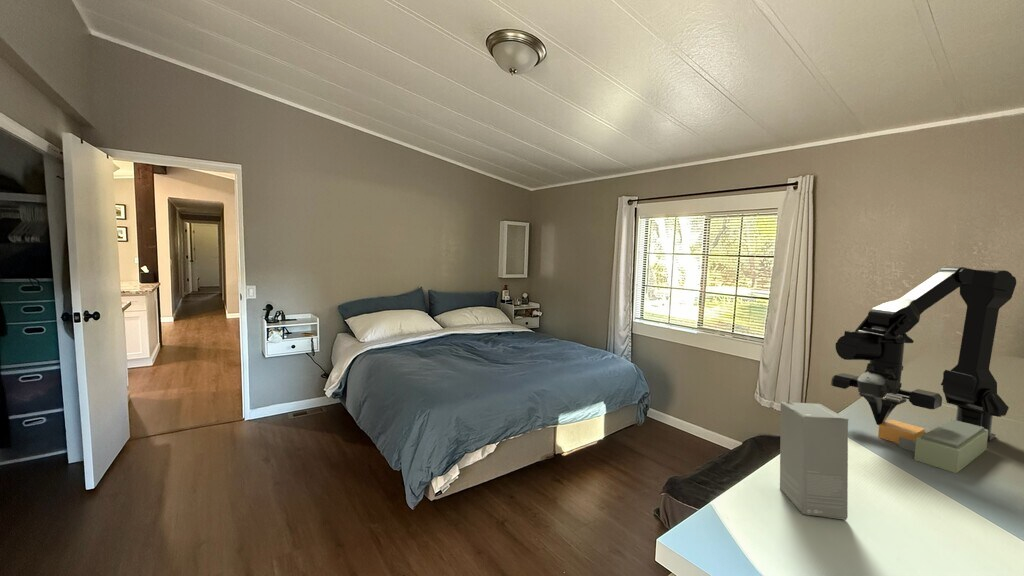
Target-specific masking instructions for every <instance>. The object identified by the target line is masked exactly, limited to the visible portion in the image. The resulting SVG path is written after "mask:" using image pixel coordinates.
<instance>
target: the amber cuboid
mask: <svg viewBox="0 0 1024 576" xmlns="http://www.w3.org/2000/svg"><path fill="white" fill-rule="evenodd" d="M925 431H926V428H925V427H920V426H916V425H913V424H909V423H906V422H901V421H899V420H894V419H889V420H887V421H886V420H885V422H884V423H882V424H879V425H878V435H877V437H878V438H880V439H883V440H886V441H890V442H893V443H896V444H899V438H900V437H903V438H907V439H910V440H914V441H916V438H918V437H920V436H922V435H924V434H925Z"/></svg>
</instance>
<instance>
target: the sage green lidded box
mask: <svg viewBox="0 0 1024 576" xmlns="http://www.w3.org/2000/svg"><path fill="white" fill-rule="evenodd" d="M987 439H988V430H987V429H984V427H981V426H977V425H973V424H969V423H965V422H961V421H957V420H956V419H949V420H947V421H945V422H944V423H942V424H941V425H939V426H937V427H935V428H933V429H931V430H929V431H926V430H925V434H924V435H922V436H920V437H918V438H916V441H914V440H910V439H907V438H903V437H900V438H899V443H898V446H897V447H898V448H902V449H904V450H905V449H906V450H909V451H911V452H914V458H913V459H914V461H915V462H916V461H917V462H919V461H920V462H919V463H922V464H925V465H929V466H933V467H935V468H938V469H941V470H944V471H948V472H950V473H954V474H957V473H959V472H960V471H961V470H963V469H964V468H965V467H966V466H967V465H969V464H970V463H971V462H973V461H974V460H975V459H976V458H978V457H979V456H980V455H982V454H983V453H984V452H985V451H986V450H987V446H988V441H987Z"/></svg>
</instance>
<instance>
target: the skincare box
mask: <svg viewBox="0 0 1024 576" xmlns="http://www.w3.org/2000/svg"><path fill="white" fill-rule="evenodd" d="M779 415H780V418H779V419H780V422H779V423H780V425H779V426H780V433H779V434H780V435H779V436H780V437H779V438H780V444H779V445H780V446H779V450H780V451H779V489H780V491H782V493H783V494H784V495H785V496H786V497H787V498H788V499H789V500H790V501H791V502H792V504H793V505H795V507H796V508H797V509H798V510H799V512H801V514H803V515H807V516H813V517H815V516H817V517H824V518H831V519H839V520H844V521H847V519H848V515H849V514H848V507H849V506H848V497H849V496H848V493H849V492H848V491H849V490H848V487H849V486H848V485H849V484H848V482H849V479H848V475H849V474H848V473H849V472H848V470H849V467H848V466H849V464H848V463H849V462H848V461H849V444H848V443H849V442H848V441H849V438H848V437H849V419H848V418H847V417H844V416H842V415H841V414H839V413H837V412H835V411H833V410H832V409H830V408H828V407H826V406H824V405H823V404H821V403H810V402H809V403H808V402H791V401H789V402H788V401H781V402H780V414H779Z"/></svg>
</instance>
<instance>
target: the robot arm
mask: <svg viewBox="0 0 1024 576" xmlns="http://www.w3.org/2000/svg"><path fill="white" fill-rule="evenodd" d="M1016 286H1017V279H1016V277H1015V276H1013V274H1012V273H1011V272H1009V271H1008V270H1005V269H1003V270H1002V269H1001V270H998V269H994V270H993V269H990V270H989V269H973V268H969V267H968V268H967V267H963V266H944V267H941V268H939V269H938V270H937V271H936V273H935V274H933V275H932V276H930V277H929V278H927V279H926V280H925V281H923V282H922V283H920V284H918V285H917V286H916V287H914V288H913V289H911V290H910V291H909V292H907V293H906V294H905V295H903V296H902V297H899V298H897V299H894V300H890V301H887V302H883V303H881V304H879V305H877V306H874V307H872V308H871V309H870V310H869V311H868V313H867V316H866V317H865V318H864V319H863V321H861V323H860V324H859V325H858V326H857V328H856V329H855V331H852V330H844V335H842V336H840V337H839V338H837V341H836V342H835V351H836V353H837V355H838V356H839V357H840V358H841V359H843V360H845V361H869V362H868V363H867V365H866V370H865V371H864V372H863V373H862V374H861V375H860V376H859V375H854V374H850V373H849V374H848V373H844V372H843V373H837V374H835V375H833V376H832V377H831V383H830V386H832V387H835V388H839V389H844V390H846V389H848V388H850V387H854V388H857V390H858V395H859V396H860V397H862V398H864V399H865V400H866V401H867V402H868V405H869V407H870V410H871V413H872V415H873V418H874V421H875V424H876V425H877V426H879V424H882V423H884V422H886V420H887V419H888V417H889V416H890V415H891V413H892V412H893V410H894V409H895V408H896V407H897V406H899V405H901V404H904V403H906V402H907V400H908V402H909V403H910V404H912V405H913V406H915V407H919V408H923V409H928V410H936V409H938V408H940V407H942V403H943V397H942V395H941V394H940V393H938V392H935V391H929V390H925V389H919V388H918V389H914V390H911V391H910V390H906V389H901V388H902V383H901V381H902V372H903V371H904V365H903V360H904V359H903V358H904V351H905V350H904V349H905V344H913V343H914V342H915V341H914V340H913V339H912V338H911V337H910V336H909V335H908V334H907V333H909V332H911V330H912V329H913V328H915V326H916V325H918V323H919V322H920V318H921V315H922V314H923V313H924V312H925V311H926V310H928V309H929V308H931V307H932V306H934V305H935V304H936V303H939V301H941V300H942V299H944V298H946V297H947V296H948V295H950V294H952V293H953V292H954V291H956V290H957V289H958V288H959V295H960V298H961V299H962V300H963V301H964V304H965V305H966V310H965V311H966V312H965V317H964V321H963V322H964V323H963V324H964V325H963V329H962V334H961V342H960V348H959V353H958V359H957V364H956V365H955V366H954V367H953V368H950V369H945V370H944V371H943V373H942V374H943V376H942V377H943V378H942V382H941V383H940V386H942V391H943V394H944V397H945V401H946V403H947V404H948V405H949V404H950V405H953V406H956V417H955V420H957V421H961V422H965V423H969V424H973V425H977V426H981V427H984V429H987V430H988V439H987V442H990V441H992V440H993V439H995V438H996V436H997V435H996V433H992V426H993V417H997V418H1001V417H1005V416H1006V415H1007V413H1008V411H1009V408H1010V407H1009V406H1008V405H1007V403H1006V402H1005V401H1004V400H1003V399H1002V398H1001V397H1000V395H999V394H998V382H997V380H996V379H995V377H994V374H992V372H991V370H990V363H991V359H992V353H993V347H994V341H995V334H996V329H997V324H998V316H999V311H1000V309H1001V308H1002V307H1003V306H1004V305H1005V304H1007V303H1008V302H1009V301H1010V300H1011V299H1012V297H1013V295H1014V292H1015V289H1016Z"/></svg>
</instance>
